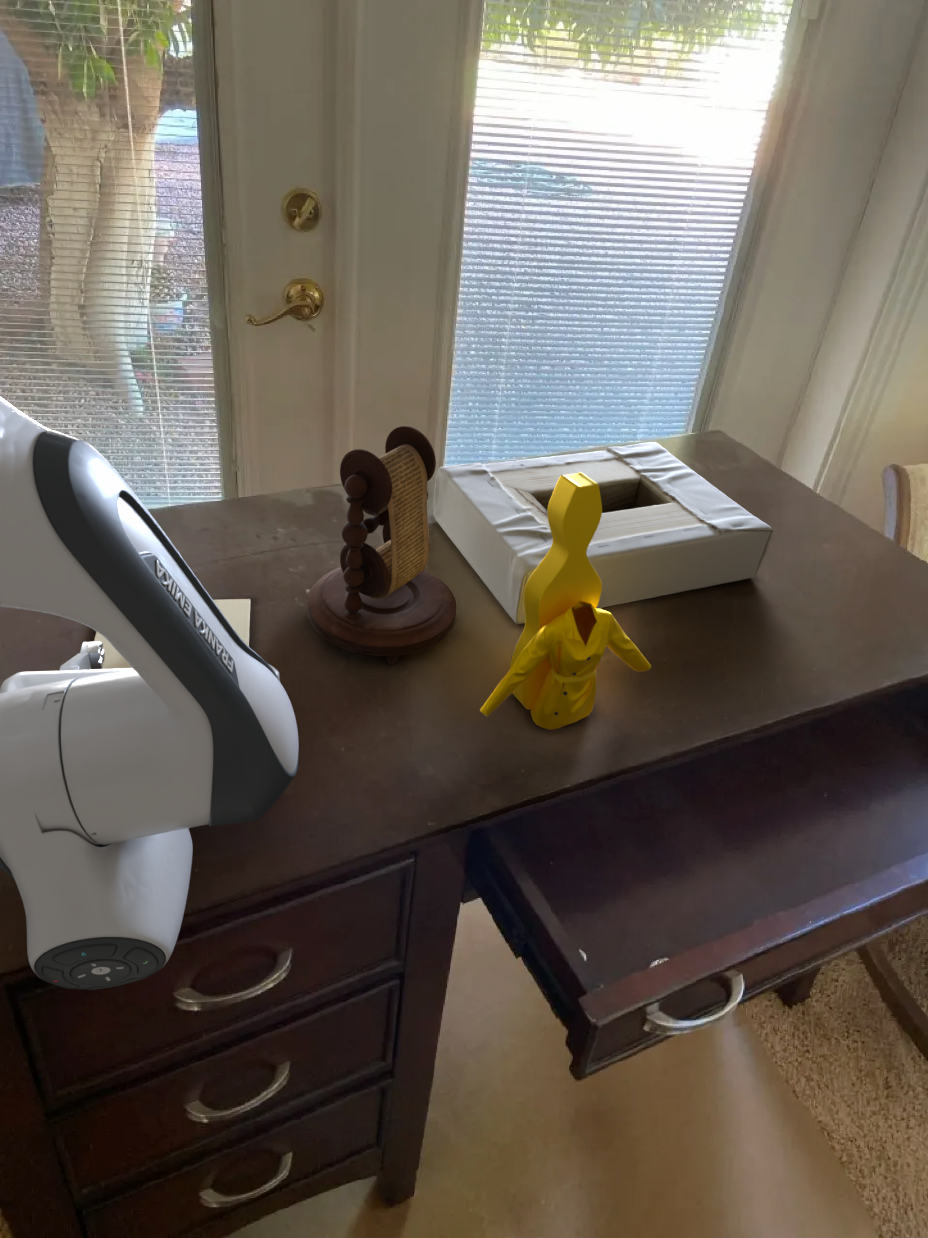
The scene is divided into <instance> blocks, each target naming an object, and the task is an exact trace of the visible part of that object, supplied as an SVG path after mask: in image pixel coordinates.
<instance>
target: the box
mask: <svg viewBox="0 0 928 1238" xmlns="http://www.w3.org/2000/svg"><path fill="white" fill-rule="evenodd" d="M579 472H581V473H583V474H584V475H586V476H587V477H589V478H590V479H591V480H593V481H594V482H596V483H597V484H598V485H599V490H600V496H601V503H602V515H601V519H600V522H599V525H598V527H597V530H596V532H595V534H594V536H593V538H592V540H591V542H590V544H589V546H588V548H587V558H588V560H589V562H590V564H591V565H592V567H593V568H594V570H595V571H596V573H597V574H598V576H599V578H600V580H601V583H602V591H601V596H600V599H599V602H598V605H597V608H596V609H602V608H607V607H613V606H617V605H622V604H628V603H633V602H637V601H643V600H648V599H653V598H657V597H662V596H667V595H672V594H677V593H682V592H687V591H692V590H698V589H704V588H707V587H713V586H717V585H723V584H728V583H733V582H739V581H743V580H749V579H752V578H755V577H756V576H757V574H758V573H759V570H760V568H761V566H762V563H763V562H764V559H765V557H766V554H767V552H768V550H769V548H770V544H771V541H772V538H773V534H774V529H773V527H771V525H769V524H768V523H766V522H764V521H763V520H761V519H760V518H759V517H757V516H755V515H754V514H752V513H750V512H749V511H748V510H747V509H745V508H744V507H743V506H741V505H740V504H738V503H737V502H736V501H734V500H733V498H730V497H729V496H727V495H726V494H725V493H724V492H722V490H720V489H718V488H717V487H715V486H714V485H713V484H712V483H710V481H708V480H706V479H705V478H704V477H702V476H701V475H700V474H699V473H697V472H696V471H694V470H693V469H691V467H689V466H688V465H686V464H685V463H684V462H683V461H681V460H680V459H678V458H677V457H676V456H674V454H672V453H670V452H669V451H668V450H667V448H665V447H664V446H663V445H661V444H660V443H658V442H656V441H649V442H647V441H646V442H640V443H634V444H628V445H623V446H622V445H621V446H608V447H607V448H606V449H605V450H597V451H596V450H595V451H589V452H588V451H587V452H579V453H572V454H562V455H553V456H544V457H536V458H535V457H534V458H525V459H517V460H509V461H499V462H490V463H489V462H488V463H481V462H471V463H462V464H452V465H444V466H440V467H438V469H437V470H436V478H435V484H434V494H433V517H434V519H435V521H436V523H438V525H439V526H440V527H441V529H442V530H443V532H444V533H445V534H446V535H447V537H448V538H449V539H450V540H451V542H452V543H453V544H454V546H455V547H456V548H457V549H458V551H459V552H460V553H461V555H462V556H463V558H465V560H466V561H467V562H468V564H469V565H470V566H471V568H472V569H473V571H474V572H475V573H476V574H477V575H478V576H479V578H480V580H481V581H482V582H483V583H484V584H485V586H486V587H487V588H488V590H489V591H490V592H491V594H492V595H493V596H494V598H495V599H496V600H497V602H498V603H499V604H500V605H501V607H502V608H503V609H504V611H505V612H506V613H507V615H508V616H509V617H510V618H511V620H512V621H513V622H514V624H516V625H522V624H525V620H526V617H525V605H524V590H525V586H526V584H527V581H528V580H529V578H530V576H531V575H532V573H533V572H534V571H535V569H536V568H537V567H538V565H539V564H540V563H541V561H542V560H543V559H544V557H545V556H546V554H547V553H548V551H549V550H550V548H551V546H552V543H553V537H552V533H551V530H550V526H549V522H548V504H549V501H550V498H551V496H552V493H553V491H554V489H555V486H556V484H557V482H558V479H559V477H560V476H561V475H570V474H576V473H579Z"/></svg>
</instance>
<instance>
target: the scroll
mask: <svg viewBox="0 0 928 1238" xmlns="http://www.w3.org/2000/svg"><path fill="white" fill-rule="evenodd" d="M384 446H385V447H384V450H385V451H384V452H385V454H382V455H381V456H379V457H378V456H377V455H375V454H374V453H373V452H371V451H369V450H366V449H363V448H355V449H352V450H350V451H348V452H347V453H346V454H344V456H343V457H342V460H341V461H340V466H339V476H340V481H341V482H340V483H341V485H342V487H343V489H344V492H345V493H346V495H347V496H346V498H345V499H346V502H347V503H348V504H349V506H348V509H347V511H346V520H347V523H345V524H344V526H343V527H342V530H341V538H342V540H343V541H344V543H345V545H343V547H342V549H341V551H340V555H339V565H340V567H337V568H335V569H333V570H331V571H329V572H327V573H325V574H324V575H322V576H321V577H320V578H319V579H318V580H317V581H315V583H314V584H313V586H312V587H311V588H310V590H309V592H308V596H307V617H308V620H309V622H310V624H311V626H312V627H313V629H314V630H315V631H316V633H317V634H319V636H320V637H322V638H323V639H325V640H326V641H327V642H329V643H330V644H332V645H335V646H336V647H339V648H341V649H344V650H346V651H348V652H353V653H356V654H360V655H366V656H376V657H386V660H387V663H389V664H390V665H394V664H395V663H396V661H397V659H398V657H399V656H403V655H404V656H405V655H410V654H414V653H418V652H421V651H424V650H426V649H427V650H428V649H429V648H432V647H434V646H435V645H436V644H438V643H440V642H441V641H443V640H444V639H446V637H448V635H449V634H450V633H451V631H452V629H453V628H454V626H455V624H456V619H457V611H458V604H457V599H456V596H455V594H454V593H453V590H452V589H451V588H450V587H449V585H447V584H446V583H445V581H444V580H442V579H441V578H439V577H438V576H437V575H435V574H433V573H431V572H430V571H427V570H426V568H427V565H428V562H429V558H430V557H429V556H430V554H431V553H430V552H431V546H430V545H431V544H430V535H429V521H428V520H429V519H428V499H429V490H428V482H429V481H430V480H431V479H432V478H433V476H434V474H435V471H436V467H437V459H436V453H435V450H434V448H433V446H432V443H431V442H430V440H429V439H428V438H427V436H426V435H425V434H424V433H422V431H420V430H418V429H417V428H415V427H413V426H409V425H401V426H397V427H395V428H394V429H392V430H391V431H390V432H389V434H388V435H387V437H386V440H385V445H384ZM364 513H365V514H367V515H369V516H368V517H365V514H364ZM379 526H380V527H381V526H382V539H383V544H381V545H380V546H378V547H376V548H375V547H374V546H372V545H370V544H369V543H367V542H366V541H367V539H368V536H369V534H373V533H375V531H376V530H377V529H378V527H379Z"/></svg>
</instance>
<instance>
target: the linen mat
mask: <svg viewBox="0 0 928 1238" xmlns="http://www.w3.org/2000/svg"><path fill="white" fill-rule="evenodd" d="M213 601H214V602H215V604H216V605H217V606H218V608H219V609H220V611H221V612H222V613H223V615H224V616H225V618H226V619H227V620H228V622H229V623H230V625H231V626H232V627H233V629H234V630H235V631H236V633H237V634H238V635H239V637H240V638H241V639H242V640H243V641H244V642H245V643H246V644H247V645H248V646H249V647H250V625H251V624H250V622H251V598H236V599H235V598H233V599H232V598H230V599H227V598H226V599H213ZM93 642H103V649H104V652H105V660H104V662H103V668H102V669H118V668H132V667H131V666H130V664H129V663H128V662H127V661H126V660H125V659H124V658H123V657H122V656H121V655H120V653H119V652H118V651H117V650H116V649H115V648H114V647H113V646H112V645H111V644H110V642H109V641H108V640H107V639H106V638H105V637H103V636H102V635H101V634H100V633H98V632H97V631H95V636H94V640H93Z"/></svg>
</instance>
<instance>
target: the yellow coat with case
mask: <svg viewBox="0 0 928 1238" xmlns="http://www.w3.org/2000/svg"><path fill="white" fill-rule="evenodd" d="M601 515H602V503H601V496H600V490H599V485H598V484H597V483H596V482H594V481H593V480H591V479H590V478H589V477H587V476H586V475H584V474H583V473H581V472H579V473H576V474H570V475H561V476H560V477H559V479H558V482H557V484H556V486H555V489H554V491H553V493H552V496H551V498H550V501H549V504H548V522H549V526H550V530H551V533H552V537H553V543H552V546H551V548H550V550H549V551H548V553H547V554H546V556H545V557H544V559H543V560H542V561H541V563H540V564H539V565H538V567H537V568H536V569H535V571H534V572H533V573H532V575H531V576H530V578H529V580H528V581H527V584H526V586H525V590H524V605H525V617H526V620H525V623H524V626H523V627H524V628H523V630H522V632H521V634H520V636H519V638H518V640H517V643H516V645H515V647H514V650H513V652H512V655H511V660H510V664H509V669H508V672H507V673H506V674H505V675H504V677H502V679H501V680H500V681H499V683H498V684H497V685H496V686H495V688H494V689H493V691H492V692H491V694H490V695H489V697H488V698H487V699H486V701H485V702H484V703H483V705H482V706H481V707H480V709H479V711H480V712H481V714H483V715H484V716H486V717H489V716H490V715H491V714H492V713H493V712H494V711H495V710H496V709H497V708H499V707H500V705H501V704H502V703H504V702H505V701H506V699H508V697H509V696H510V695H512V694H513V696H514V697H515V698H516V699H517V700H518V701H519V702H520V703H521V705H522V706H523V708H525V709H526V710H528V711H529V710H530V715H531V719H532V722H533V723H534V724H535V725H536V726H537V727H540V728H542V729H546V730H549V731H550V730H552V731H553V730H558V729H560V728H563V727H566V726H568V725H572V724H574V723H577V722H578V721H580V720H582V719H584V718H587V717H589V716H590V715H591V713H592V712H593V709H594V705H595V701H596V696H597V675H596V670H597V667H598V666H599V664H600V662H601V660H602V658H603V657H604V654H605V651H606V649H609V651H611V652H612V653H613V654H614V655H615V656H616V657H617V658H619V659H620V660H621V661H622V662H623V663H624V664H625V665H627V666H628V667H629V668H630V669H631V670H633V671H634V672H638V673H639V672H640V673H641V672H648V671H650V669H651V668H652V665H651V664H650V662H649V661H648V660H647V658H646V657H645V656H644V654H643V653H642V652H641V651H640V649H639V648H638V647H637V646H636V644H635V643H634V642H633V641H632V640H631V638H630V637H628V635H627V634H626V632H625V631H624V630H623V628H622V627H621V625H620V624H619V622H618V621H617V619H616V618H615V617H614V615H613V614H612V613H611V612H610V611H608V610H605V609H602V608H598V609H596V608H597V605H598V602H599V599H600V596H601V591H602V583H601V580H600V578H599V576H598V574H597V573H596V571H595V570H594V568H593V567H592V565H591V564H590V562H589V560H588V558H587V548H588V546H589V544H590V542H591V540H592V538H593V536H594V534H595V532H596V530H597V527H598V525H599V522H600V519H601Z"/></svg>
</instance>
